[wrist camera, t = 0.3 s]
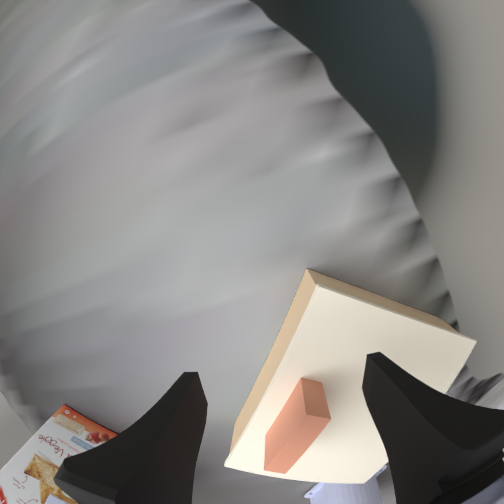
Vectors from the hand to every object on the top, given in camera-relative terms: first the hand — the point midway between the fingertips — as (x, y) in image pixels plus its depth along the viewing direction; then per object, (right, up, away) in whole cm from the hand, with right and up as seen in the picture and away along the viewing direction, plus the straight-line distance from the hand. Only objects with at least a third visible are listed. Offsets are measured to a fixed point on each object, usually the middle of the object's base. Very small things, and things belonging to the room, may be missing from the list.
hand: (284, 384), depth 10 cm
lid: (+6, -7, +6) cm, 11 cm away
